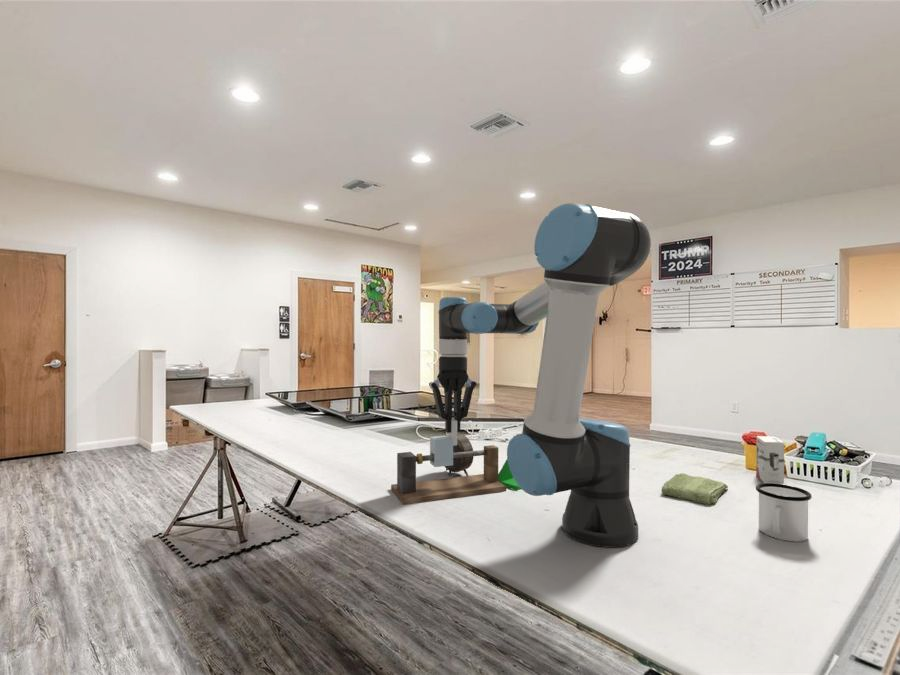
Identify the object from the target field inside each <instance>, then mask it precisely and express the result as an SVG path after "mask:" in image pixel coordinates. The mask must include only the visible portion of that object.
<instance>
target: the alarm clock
mask: <svg viewBox="0 0 900 675" xmlns="http://www.w3.org/2000/svg"><path fill="white" fill-rule="evenodd" d="M446 436H448V434H447V435H446ZM467 451H474V448H473V446H472V443H471V441H470V439H469V438H468V437H467V436H466V435H465V434H463V433H461V432H457V445H455V446H453V453H457V452H467ZM474 457H475V456H471V457H461V458H453V465H451V466H443V467H444V468H445V470H446V471H448V477H450V476H451V474H452V473H459V472H462V471H463V472H464V474H465V476H469V473H468V471H467V470H468V469H469V468H470V467H471V466H472V464H473V462H474Z"/></svg>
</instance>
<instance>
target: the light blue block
mask: <svg viewBox="0 0 900 675" xmlns="http://www.w3.org/2000/svg"><path fill="white" fill-rule="evenodd" d="M429 455H434V460H431V461H429V464H430V465H431V466H433V467H434V468H440V467H444V466H451V465H453V438H451V437H450V436H447V435H438V436H430V437H429Z"/></svg>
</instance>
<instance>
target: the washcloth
mask: <svg viewBox="0 0 900 675" xmlns="http://www.w3.org/2000/svg"><path fill="white" fill-rule="evenodd" d="M726 489H729V487H728V485H727V484H726V483H724V482H721V481H718V480H714V479H711V478H707V477H703V476H693V475H689V474H687V473H684V472H683V473H682V472H681V473H677V474H675V475H674V476H672V477H671V478H670V479H669V480H667V481H666V482H664V484H663V486H662V487H661V493H662V495H664V496H667V495H668V496H669V497H673V498H676V499H681V500H683V499H684V500H688V501H691V502H692V501H693V502H695V503H700V504H704V505H709V506H711V505H713V504H716V503H717V502H718V499H719V498H720V497H721V494H722V495H723V493H724V492H725V491H726ZM718 497H719V498H718Z"/></svg>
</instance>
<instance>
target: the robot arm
mask: <svg viewBox="0 0 900 675" xmlns="http://www.w3.org/2000/svg"><path fill="white" fill-rule="evenodd" d="M651 239H652V238H651V235H650V231H649V229H648V227H647V225H646V224H645V223H644V222H643V221H642V220H641V219H640V218H639V217H638V216H636V215H634V214H632V213H630V212H625V211H622V210H621V211H618V210H614V209H610V208H605V207H601V206H595V205H591V204H586V203H585V204H584V203H574V202H573V203H571V202H570V203H569V202H568V203H562V204H560V205H558V206H555V208H553V209H552V210H551V211H550V212H549V213H548V215H546V216H545V217H544V218H543V220H542V221H541V223H540V225H539V227H538V228H537V232H536V234H535V238H534V245H533V246H534V248H533V249H534V255H535V256H536V261H537V264H539V265H540V267H542V268H543V269H544V273H543V280H544V281H543V282H542V283H540V284H539V285H538V286H536V287H535V288H533V289H531V290H530V291H529V292H527V293H526V294H524V295H523V296H521V297H520V298H518V299H517V300H515V301H513V302H511V303H509V304H507V303H505V304H504V303H490V302H486V301H485V302H484V301H474V302H471V303H468V300H467V298H465V297H461V296H449V297H448V296H447V297H446V296H445V297H442V298H440V300H439V305H438V306H439V307H438V311H437V312H438V339H439V340H438V355H440V356H439V357H438V374H437V377H436V379H435V380H433V381H430V382H429V383H428V386H429V387H430V389H431V391H432V394H433V397H434V402H435V407H436V412H437V416H438V417H439V418H440V419H443V420H444V421H445V422H444V423H445V426H444V429H445V430H444V431H445V433H448V434H447V435H448V436H450V437H451V438H453V446H455V445H457V433H461V421H462V420H463V419H464V418H467V417H468V413H469V410H470V406H471V405H470V404H471V400H472V396H473V391H474V389H475V387H476V386H477V382H476V381H474V380H472V379H471V378H469V377H470V376H469V375H468V357H467V356H466V355H467V354H468V334H473V335H478V334H481V335H482V334H512V335H513V334H517V335H524V334H531V333H533V332H534V331H536V329H537V327H538V326H539V323H540V322H541V321H543V320H545V325H544V326H545V328H544V334H543V341H542V349H541V355H540V360H539V362H540V363H539V370H538V376H537V377H538V378H537V384H536V391H535V398H534V404H533V405H534V406H533V412H531V413H530V414H528V415H526V416H525V417H524V419H523V424H522V432H521V433H516V435H514V436H512V438H510V439H509V442H508V444H507V448H506V460H508V465H509V469H510V471H511V473H512V475H513V478H514V480H515V481H516V483H517V484H518V486H519V487H520V488H521V489H520V490H522V491H523V492H524V493H526V494H528V495H530V496H535V497H539V496H553V495H554V494H557V493H562V492H566V491H570V494H569V496H568V499H567V503H566V506H565V510H564V512H563V514H562V518H561V529H562V531H563V533H564V534H566V536H568V537H569V538H571V539H573V540H575V541H577V542H580V543H583V544H587V545H590V546H596V547H604V548H605V547H606V548H621V547H627V546H630V545H632V544H635V543H636V542H637V541H638V539H639V523H638V520H637V519H636V514H635V511H634V509H633V506H632V505H633V504H632V501H631V499H630V468H631V467H630V465H631V464H630V459H631V458H630V456H631V452H630V450H631V443H630V432H629V430H628V428H627V427H626V426H624V425H623V424H620V423H616V422H610V421H607V420H606V421H605V420H598V419H589V418H580V415H581V411H582V410H581V408H582V402H583V395H584V390H585V384H586V379H587V377H586V376H587V373H588V372H587V371H588V365H589V358H590V353H591V347H592V340H593V335H594V334H593V333H594V327H595V320H596V315H597V310H598V303H599V297H600V294H601V293H602V292H604V291H605V290H606V289H608V288H609V287H613V286H615V285H616V284H618V283H620V282H622V281H624V280H626V279H627V278H629V277H631V276H632V275H634V274H635V273H637V271H639V270H640V269H641V268H642V267H643V265H644V264H645V262H646V261H647V259H648V257H649V254H650V252H651V248H652V247H651V246H652V243H651V241H652V240H651ZM440 386H441V387H442V388H443V393H444V403H443V398H442V395H441V390H440ZM464 387H465V390H464V394H463V388H464ZM462 395H463V398H462Z"/></svg>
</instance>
